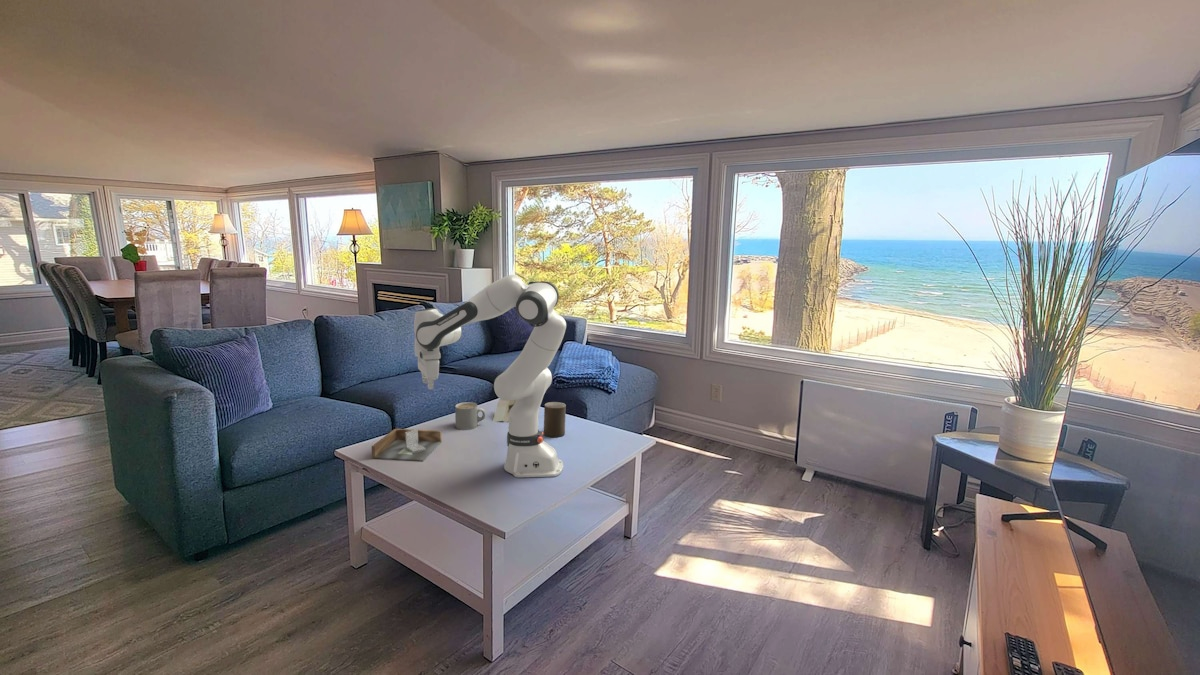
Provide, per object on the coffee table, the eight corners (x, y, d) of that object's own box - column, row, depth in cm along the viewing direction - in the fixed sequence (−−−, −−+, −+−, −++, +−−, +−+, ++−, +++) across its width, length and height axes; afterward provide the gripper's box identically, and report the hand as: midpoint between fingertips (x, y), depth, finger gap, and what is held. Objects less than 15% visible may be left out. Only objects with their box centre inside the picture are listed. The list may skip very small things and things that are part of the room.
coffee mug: (453, 429, 228) (453, 408, 226) (458, 422, 238) (457, 402, 236) (483, 430, 229) (483, 409, 227) (486, 422, 239) (486, 402, 237)
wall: (530, 427, 246) (532, 401, 255) (525, 418, 239) (527, 392, 248) (497, 430, 247) (501, 404, 257) (492, 422, 241) (495, 395, 250)
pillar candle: (556, 439, 221) (557, 406, 219) (539, 434, 226) (540, 402, 224) (569, 433, 229) (570, 401, 227) (552, 428, 234) (553, 397, 232)
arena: (441, 442, 213) (441, 430, 212) (422, 461, 193) (422, 449, 192) (395, 439, 214) (395, 428, 213) (372, 458, 194) (371, 446, 193)
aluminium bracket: (405, 448, 203) (405, 432, 202) (417, 445, 206) (416, 429, 205) (414, 453, 198) (413, 437, 197) (425, 450, 202) (425, 433, 201)
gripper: (413, 346, 197) (414, 380, 199) (423, 356, 180) (424, 393, 182) (429, 345, 200) (430, 378, 203) (441, 355, 183) (442, 391, 185)
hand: (427, 385), depth 192 cm, fingers open, 8 cm apart
